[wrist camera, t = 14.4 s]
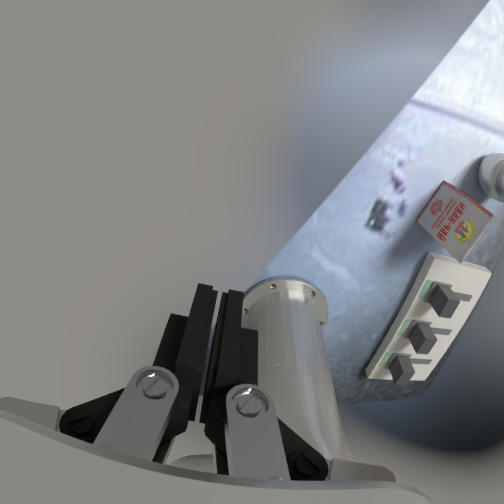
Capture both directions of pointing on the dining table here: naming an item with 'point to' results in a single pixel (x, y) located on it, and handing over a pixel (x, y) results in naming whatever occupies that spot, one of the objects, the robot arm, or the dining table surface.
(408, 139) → the dining table surface
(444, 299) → the block
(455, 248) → the white printed box
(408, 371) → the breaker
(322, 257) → the dining table surface
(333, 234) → the dining table surface
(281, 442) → the robot arm
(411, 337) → the block
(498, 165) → the plastic bottle
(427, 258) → the panel
